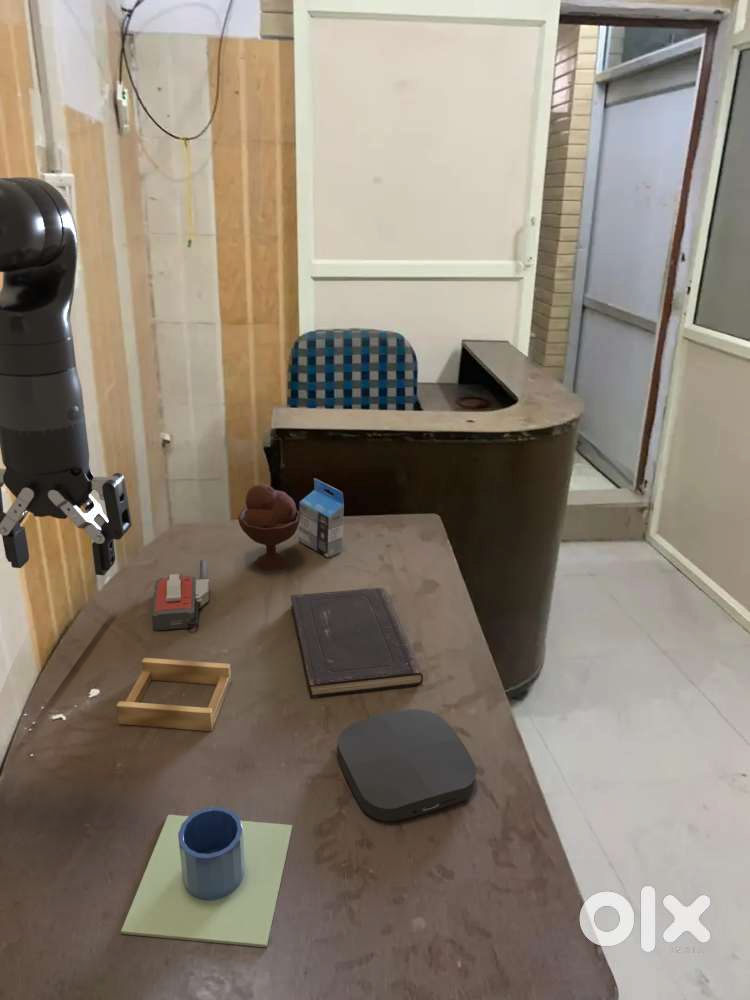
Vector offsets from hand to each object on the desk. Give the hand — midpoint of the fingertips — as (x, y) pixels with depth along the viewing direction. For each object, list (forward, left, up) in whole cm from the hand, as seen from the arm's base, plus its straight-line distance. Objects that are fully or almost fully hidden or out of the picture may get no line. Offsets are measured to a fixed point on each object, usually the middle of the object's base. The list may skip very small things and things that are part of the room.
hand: (61, 567), depth 76 cm
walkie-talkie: (-2, +41, -30) cm, 50 cm away
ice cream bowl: (+10, +55, -30) cm, 63 cm away
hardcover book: (+27, +32, -29) cm, 51 cm away
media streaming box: (+36, +7, -30) cm, 47 cm away
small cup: (+17, -10, -29) cm, 35 cm away
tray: (+5, +16, -29) cm, 33 cm away
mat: (+17, -10, -29) cm, 35 cm away
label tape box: (+18, +62, -30) cm, 70 cm away
